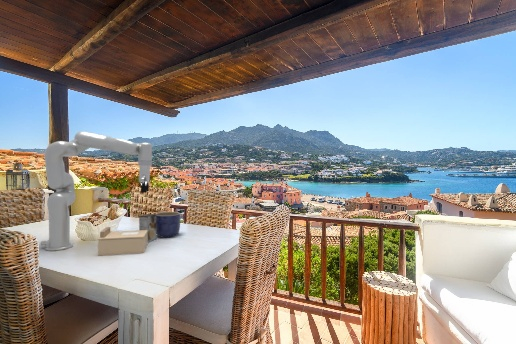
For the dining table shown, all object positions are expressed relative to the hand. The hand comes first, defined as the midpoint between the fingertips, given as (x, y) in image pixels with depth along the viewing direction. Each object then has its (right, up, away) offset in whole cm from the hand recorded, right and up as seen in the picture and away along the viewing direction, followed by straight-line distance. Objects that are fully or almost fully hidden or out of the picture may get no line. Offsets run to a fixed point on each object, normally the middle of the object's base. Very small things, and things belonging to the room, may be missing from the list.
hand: (144, 191), depth 166 cm
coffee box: (-1, -31, +7) cm, 32 cm away
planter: (+7, -31, +19) cm, 37 cm away
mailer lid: (-6, -23, -13) cm, 27 cm away
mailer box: (-6, -31, -13) cm, 35 cm away
